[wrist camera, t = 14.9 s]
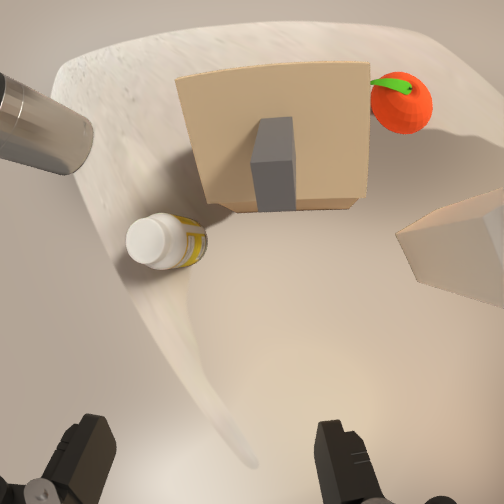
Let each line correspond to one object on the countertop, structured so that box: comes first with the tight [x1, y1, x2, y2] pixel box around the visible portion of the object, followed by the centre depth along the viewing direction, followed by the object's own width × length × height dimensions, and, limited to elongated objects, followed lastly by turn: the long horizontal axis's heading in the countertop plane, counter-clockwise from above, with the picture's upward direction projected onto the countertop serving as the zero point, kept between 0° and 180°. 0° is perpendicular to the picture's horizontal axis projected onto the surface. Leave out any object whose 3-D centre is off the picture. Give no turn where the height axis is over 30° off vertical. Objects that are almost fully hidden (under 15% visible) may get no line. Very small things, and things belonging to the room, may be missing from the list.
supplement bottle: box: [126, 213, 208, 270], centre depth 31 cm, size 5×5×10 cm
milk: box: [395, 187, 504, 309], centre depth 20 cm, size 6×6×22 cm
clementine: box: [370, 72, 433, 134], centre depth 28 cm, size 8×7×7 cm
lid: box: [175, 61, 370, 212], centre depth 18 cm, size 12×10×7 cm
